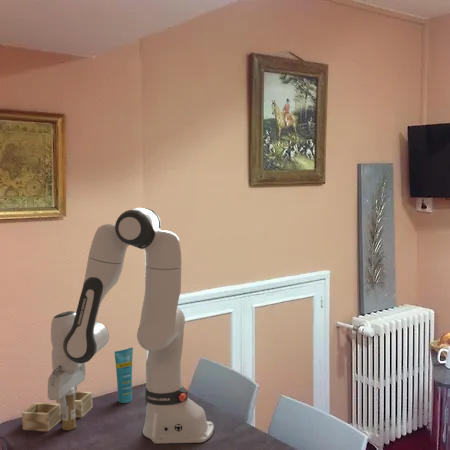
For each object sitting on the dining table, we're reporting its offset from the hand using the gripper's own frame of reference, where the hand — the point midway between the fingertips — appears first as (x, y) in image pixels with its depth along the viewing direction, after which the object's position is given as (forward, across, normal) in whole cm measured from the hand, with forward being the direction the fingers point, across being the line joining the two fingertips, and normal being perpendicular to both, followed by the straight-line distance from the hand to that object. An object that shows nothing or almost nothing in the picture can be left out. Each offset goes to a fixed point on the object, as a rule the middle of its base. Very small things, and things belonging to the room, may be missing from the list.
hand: (68, 403), depth 191 cm
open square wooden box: (+8, +1, +10) cm, 13 cm away
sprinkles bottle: (+8, 0, 0) cm, 8 cm away
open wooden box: (+8, +13, +4) cm, 16 cm away
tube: (+8, +25, -10) cm, 28 cm away
